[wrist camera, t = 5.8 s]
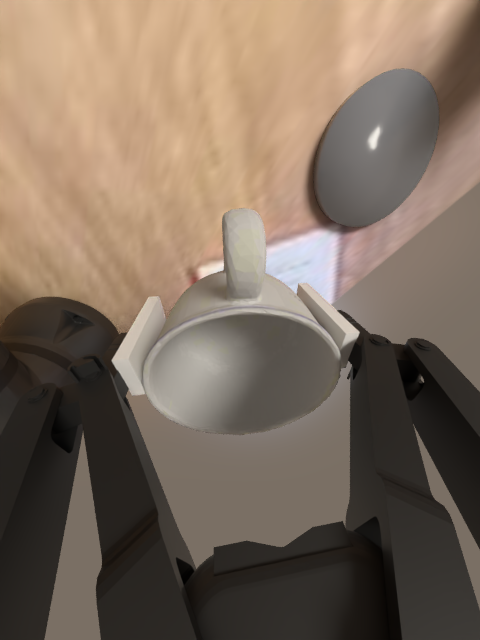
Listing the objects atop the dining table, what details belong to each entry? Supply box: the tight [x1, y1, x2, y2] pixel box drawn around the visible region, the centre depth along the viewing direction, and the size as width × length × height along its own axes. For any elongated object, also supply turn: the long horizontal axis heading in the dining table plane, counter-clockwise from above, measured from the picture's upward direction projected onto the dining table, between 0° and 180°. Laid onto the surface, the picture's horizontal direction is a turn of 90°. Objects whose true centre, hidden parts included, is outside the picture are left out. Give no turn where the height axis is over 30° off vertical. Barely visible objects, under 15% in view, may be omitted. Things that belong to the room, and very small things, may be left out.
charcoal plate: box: [313, 69, 439, 227], centre depth 24 cm, size 15×15×2 cm
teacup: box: [142, 208, 342, 435], centre depth 13 cm, size 14×11×8 cm
